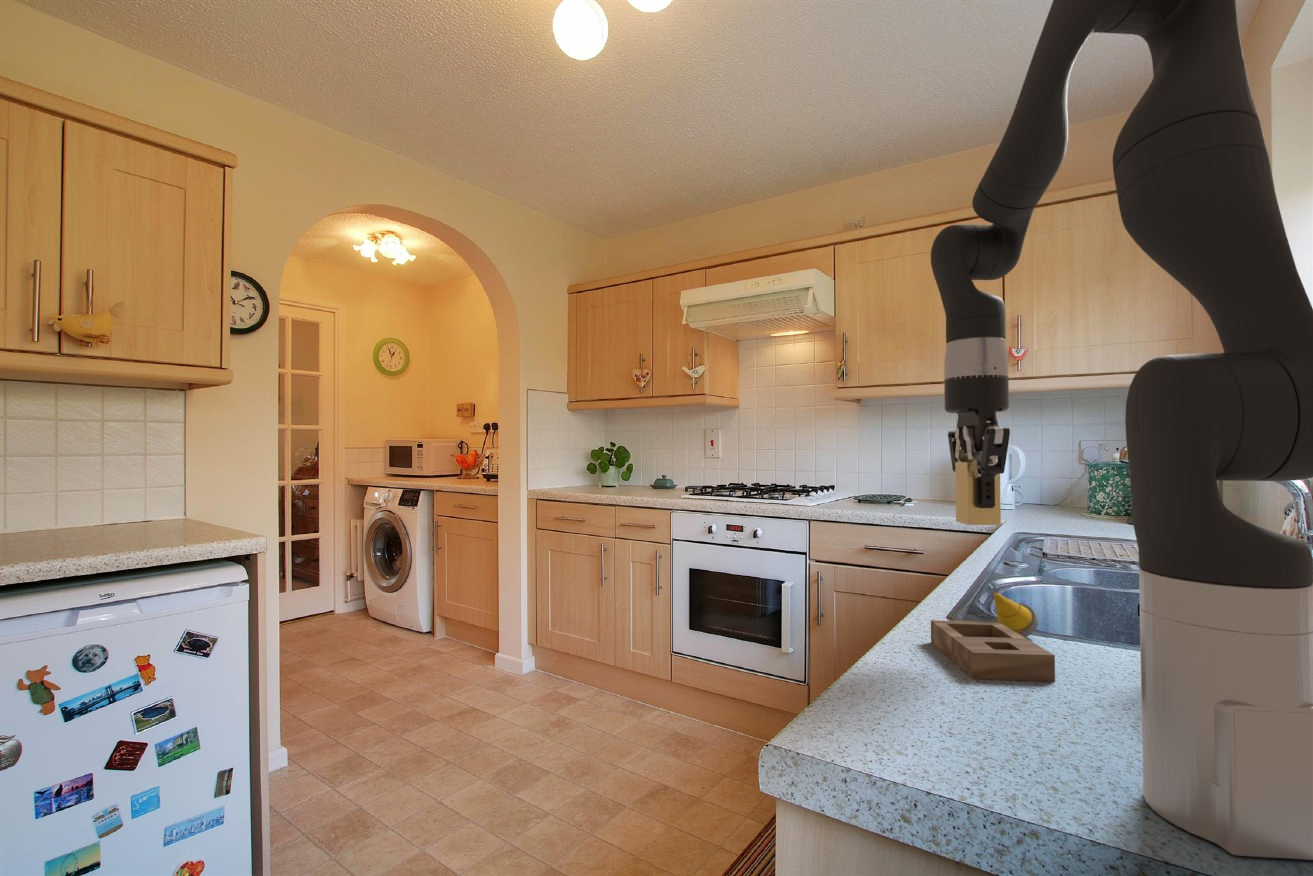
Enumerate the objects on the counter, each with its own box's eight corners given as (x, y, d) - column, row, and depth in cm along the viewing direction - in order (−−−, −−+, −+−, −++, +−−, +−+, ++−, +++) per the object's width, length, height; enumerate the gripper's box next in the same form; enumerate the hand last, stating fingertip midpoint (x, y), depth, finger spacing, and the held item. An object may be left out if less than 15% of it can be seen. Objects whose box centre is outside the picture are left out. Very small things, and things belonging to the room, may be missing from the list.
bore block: (1055, 681, 71) (1054, 655, 71) (972, 678, 71) (972, 652, 71) (999, 644, 84) (998, 622, 85) (930, 642, 85) (930, 620, 85)
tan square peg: (1000, 525, 79) (999, 462, 79) (968, 524, 79) (967, 462, 79) (987, 521, 83) (986, 462, 83) (956, 521, 83) (955, 462, 83)
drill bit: (1051, 645, 86) (1018, 601, 82) (1011, 655, 88) (977, 612, 85) (1041, 615, 90) (1009, 571, 87) (1004, 624, 93) (971, 583, 89)
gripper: (1033, 368, 74) (1035, 511, 73) (982, 382, 88) (983, 502, 88) (967, 369, 75) (969, 511, 74) (927, 382, 89) (928, 502, 88)
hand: (977, 505), depth 81 cm, fingers closed on tan square peg, 4 cm apart
